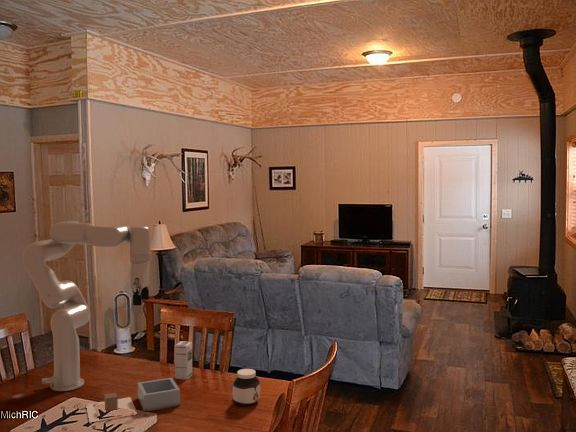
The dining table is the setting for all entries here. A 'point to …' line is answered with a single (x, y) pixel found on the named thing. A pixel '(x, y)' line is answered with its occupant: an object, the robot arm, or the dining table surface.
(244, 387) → the spread jar
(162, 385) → the dish
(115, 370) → the dining table surface
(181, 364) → the syrup box
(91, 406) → the lid
